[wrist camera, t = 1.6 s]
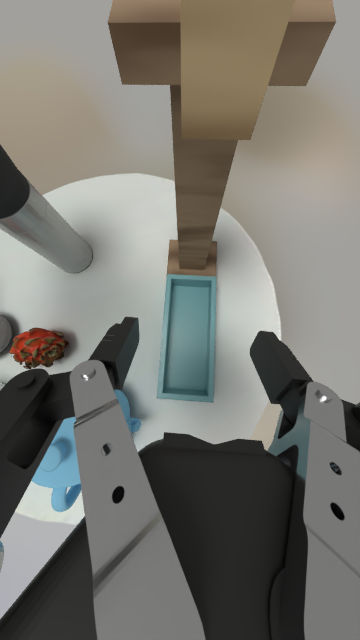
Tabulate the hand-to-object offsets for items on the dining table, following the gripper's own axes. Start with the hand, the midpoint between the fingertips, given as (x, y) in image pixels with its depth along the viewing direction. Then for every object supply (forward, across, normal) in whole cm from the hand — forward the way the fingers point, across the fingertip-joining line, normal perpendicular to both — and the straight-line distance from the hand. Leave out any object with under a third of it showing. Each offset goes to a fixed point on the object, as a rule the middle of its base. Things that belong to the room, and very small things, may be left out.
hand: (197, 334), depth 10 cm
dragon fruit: (+18, -30, -24) cm, 42 cm away
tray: (+20, +2, -17) cm, 27 cm away
